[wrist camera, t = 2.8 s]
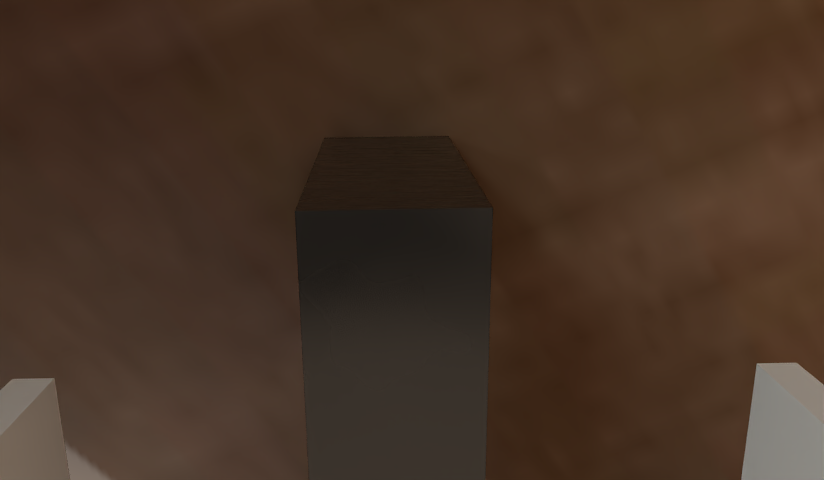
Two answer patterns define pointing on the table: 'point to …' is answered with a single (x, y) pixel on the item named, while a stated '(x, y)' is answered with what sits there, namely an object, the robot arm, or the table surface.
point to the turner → (394, 310)
